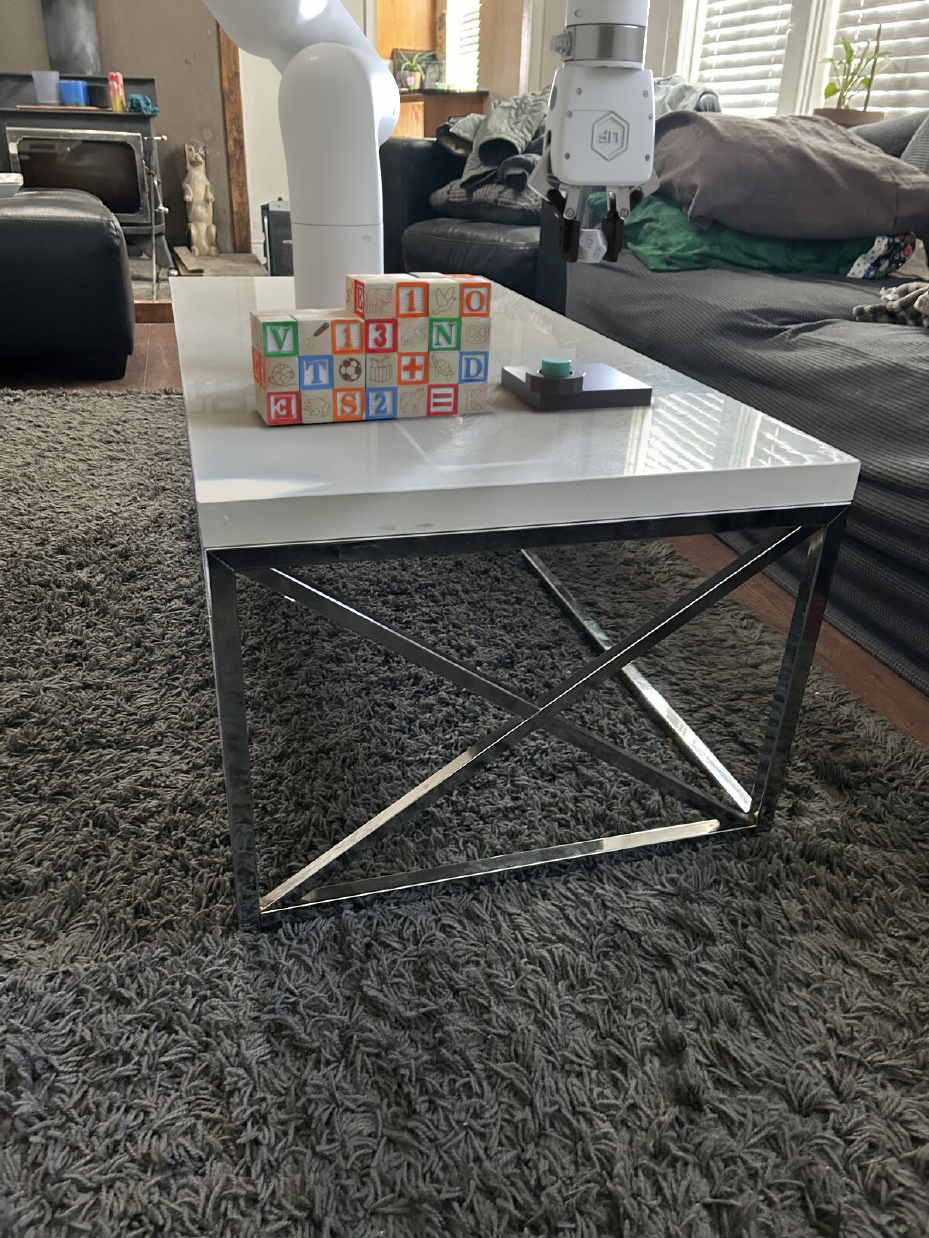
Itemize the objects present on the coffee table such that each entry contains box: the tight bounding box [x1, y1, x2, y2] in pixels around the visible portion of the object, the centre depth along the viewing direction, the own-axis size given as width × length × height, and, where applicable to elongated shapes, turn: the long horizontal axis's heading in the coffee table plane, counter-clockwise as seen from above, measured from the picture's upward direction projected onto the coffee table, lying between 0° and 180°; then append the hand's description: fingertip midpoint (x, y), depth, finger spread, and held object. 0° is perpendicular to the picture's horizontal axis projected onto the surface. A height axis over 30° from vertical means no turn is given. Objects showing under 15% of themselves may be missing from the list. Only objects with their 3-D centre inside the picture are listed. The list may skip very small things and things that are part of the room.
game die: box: [576, 228, 608, 264], centre depth 96 cm, size 4×4×3 cm
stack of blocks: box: [249, 272, 492, 426], centre depth 89 cm, size 21×6×12 cm, turn 110°
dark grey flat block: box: [500, 362, 653, 412], centre depth 99 cm, size 13×13×4 cm
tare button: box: [541, 356, 571, 376], centre depth 94 cm, size 3×3×2 cm
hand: (588, 259), depth 97 cm, fingers closed on game die, 3 cm apart
